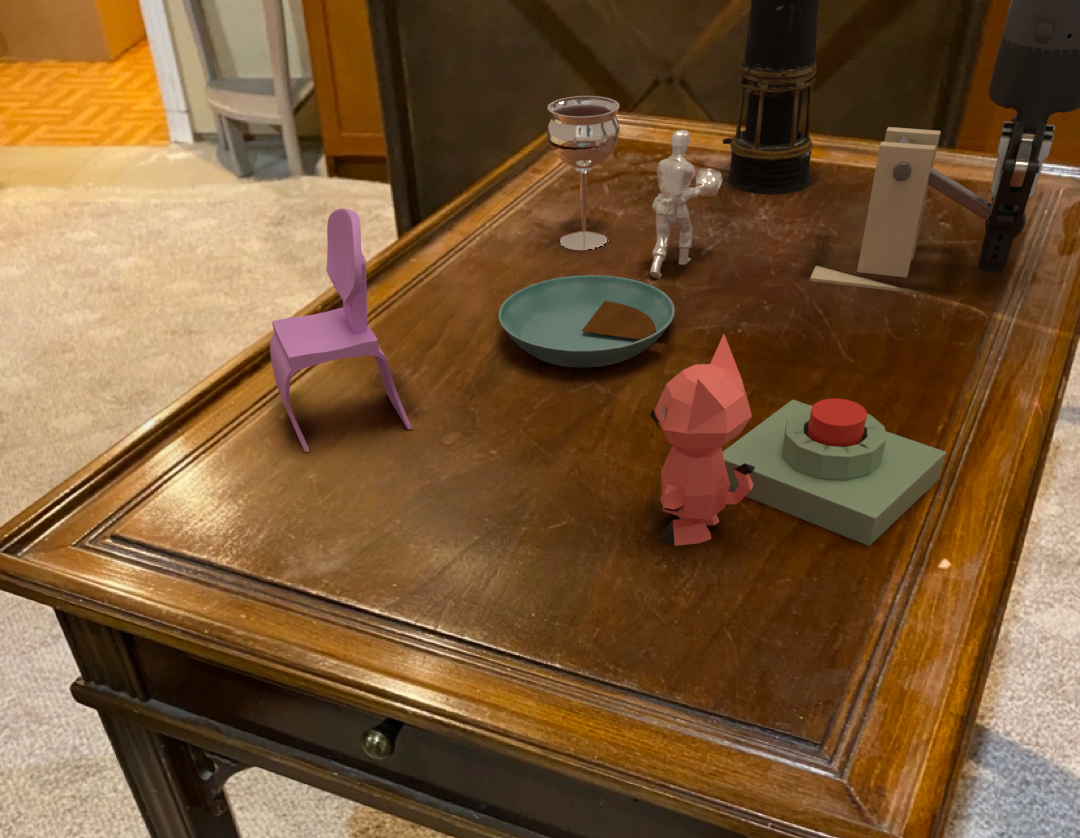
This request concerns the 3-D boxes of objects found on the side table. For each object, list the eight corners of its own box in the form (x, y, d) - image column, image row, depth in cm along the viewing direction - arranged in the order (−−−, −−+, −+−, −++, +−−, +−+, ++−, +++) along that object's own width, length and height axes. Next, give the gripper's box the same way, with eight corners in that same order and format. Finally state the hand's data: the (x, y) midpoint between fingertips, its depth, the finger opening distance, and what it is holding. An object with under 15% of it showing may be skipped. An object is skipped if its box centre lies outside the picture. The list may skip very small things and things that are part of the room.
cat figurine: (661, 489, 73) (671, 321, 64) (758, 507, 71) (782, 336, 62) (629, 546, 68) (636, 373, 60) (733, 567, 66) (755, 392, 58)
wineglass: (596, 258, 102) (597, 121, 93) (537, 246, 104) (532, 111, 96) (629, 234, 106) (633, 101, 97) (571, 223, 108) (570, 92, 100)
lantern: (714, 178, 116) (742, -176, 95) (793, 170, 117) (838, -182, 96) (740, 207, 110) (776, -166, 89) (823, 198, 111) (878, -173, 90)
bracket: (955, 267, 98) (989, 127, 89) (945, 307, 92) (981, 161, 83) (825, 253, 101) (846, 116, 93) (808, 290, 95) (829, 148, 87)
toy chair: (279, 409, 83) (234, 209, 72) (387, 387, 85) (359, 189, 74) (301, 461, 77) (255, 252, 66) (416, 435, 79) (390, 229, 68)
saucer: (633, 292, 96) (634, 262, 94) (701, 362, 86) (704, 330, 84) (479, 319, 93) (477, 289, 91) (531, 395, 83) (530, 363, 81)
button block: (939, 479, 73) (953, 427, 70) (869, 547, 67) (881, 493, 65) (788, 426, 78) (796, 375, 76) (713, 484, 73) (718, 432, 70)
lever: (1009, 241, 92) (1035, 208, 90) (1006, 255, 90) (1033, 221, 88) (883, 164, 91) (906, 128, 89) (878, 176, 89) (901, 139, 87)
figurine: (633, 287, 97) (638, 145, 88) (670, 251, 102) (678, 114, 94) (682, 295, 95) (692, 151, 87) (717, 258, 101) (729, 119, 92)
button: (871, 432, 70) (877, 409, 69) (845, 455, 69) (849, 431, 67) (824, 416, 72) (828, 392, 71) (796, 437, 70) (800, 414, 69)
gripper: (1108, 59, 74) (1033, 299, 87) (1108, 13, 84) (1040, 236, 96) (997, 52, 76) (939, 288, 89) (1008, 8, 86) (954, 227, 98)
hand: (992, 260), depth 92 cm, fingers closed on lever, 3 cm apart
